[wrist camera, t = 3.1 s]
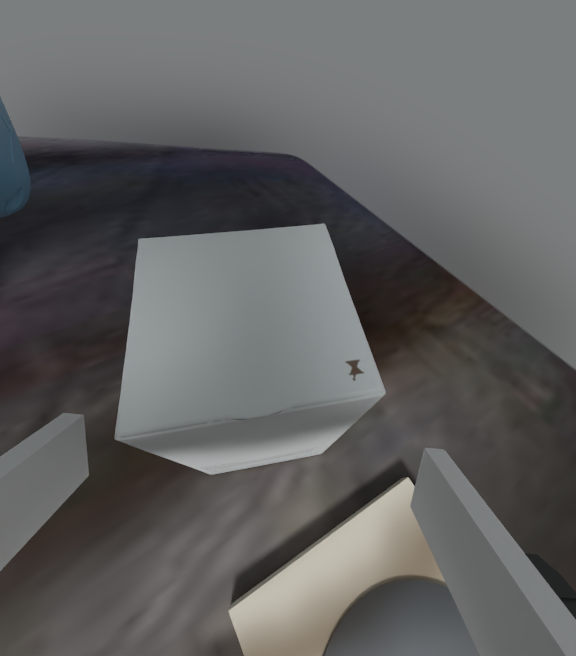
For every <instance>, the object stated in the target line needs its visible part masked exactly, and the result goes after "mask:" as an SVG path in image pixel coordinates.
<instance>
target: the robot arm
mask: <svg viewBox="0 0 576 656" xmlns="http://www.w3.org/2000/svg"><path fill="white" fill-rule="evenodd" d="M30 192H31V182H30V175H29V170H28V166H27V163H26V160H25V156H24V153H23V150H22V148H21V145H20V142H19V140H18V137H17V135H16V132H15V129H14V127H13V125H12V122H11V120H10V118H9V115H8V113H7V111H6V109H5V106H4V104H3V102H2V100H1V98H0V218H2V217H6V216H9V215H12V214H14V213H16V212H18V211H20V210H21V209H22V208H23V207H24V206H25V205H26V203H27V202H28V199H29V197H30ZM88 476H89V471H88V459H87V448H86V436H85V424H84V415H80V414H70V413H63V414H61V415H60V416H58V417H57V418H56V419H54V420H53V421H51V422H50V423H48V424H47V425H45V426H44V427H42V428H41V429H40V430H38V431H37V432H35V433H34V434H32V435H31V436H29V437H28V438H27V439H25V440H24V441H22V442H21V443H19V444H18V445H16V446H15V447H13V448H12V449H11V450H9V451H8V452H6V453H5V454H3V455H2V456H0V571H1V570H2V569H3V568H4V567H5V565H6V564H7V563H8V562H9V561H10V560H11V559H12V558H13V557H14V556H15V555H16V554H17V552H18V551H19V550H20V549H21V548H22V547H23V546H24V545H25V544H26V543H27V542H28V541H29V540H30V538H31V537H32V536H33V535H34V534H35V533H36V532H37V531H38V530H39V529H40V528H41V527H42V526H43V524H44V523H45V522H46V521H47V520H48V519H49V518H50V517H51V516H52V515H53V514H54V513H55V511H56V510H57V509H58V508H59V507H60V506H61V505H62V504H63V503H64V502H65V501H66V500H67V499H68V497H69V496H70V495H71V494H72V493H73V492H74V491H75V490H76V489H77V488H78V487H79V486H80V484H81V483H82V482H83V481H84V480H85V479H86V478H87V477H88ZM410 507H411V509H412V511H413V513H414V515H415V518H416V520H417V522H418V524H419V526H420V528H421V530H422V533H423V535H424V537H425V539H426V541H427V543H428V546H429V548H430V550H431V552H432V554H433V556H434V558H435V561H436V563H437V565H438V567H439V569H440V571H441V573H442V576H443V578H444V580H445V582H446V584H447V586H448V589H449V591H450V593H451V595H452V597H453V599H454V601H455V604H456V606H457V608H458V610H459V612H460V614H461V617H462V619H463V621H464V623H465V625H466V627H467V629H468V632H469V634H470V636H471V638H472V640H473V642H474V644H475V647H476V649H477V651H478V653H479V655H480V656H576V593H575V591H574V590H573V589H572V588H571V587H570V585H569V584H568V583H567V582H566V581H565V579H564V578H563V577H562V576H561V575H560V574H559V573H558V572H557V571H556V570H554V569H553V568H552V567H551V566H550V565H549V564H547V563H546V562H545V561H544V560H543V559H542V558H540V557H539V556H538V555H536V554H525V553H524V552H523V551H522V549H521V548H520V547H519V546H518V544H517V543H516V542H515V540H514V539H513V538H512V537H511V535H510V534H509V533H508V531H507V530H506V529H505V528H504V526H503V525H502V524H501V522H500V521H499V520H498V518H497V517H496V516H495V515H494V513H493V512H492V511H491V509H490V508H489V507H488V506H487V504H486V503H485V502H484V500H483V499H482V498H481V497H480V495H479V494H478V493H477V491H476V490H475V489H474V487H473V486H472V485H471V484H470V482H469V481H468V480H467V478H466V477H465V476H464V475H463V473H462V472H461V471H460V469H459V468H458V467H457V466H456V464H455V463H454V462H453V460H452V459H451V458H450V456H449V455H448V454H447V453H446V451H445V450H443V449H433V448H424V452H423V456H422V460H421V464H420V468H419V472H418V476H417V480H416V484H415V488H414V492H413V496H412V500H411V504H410Z"/></svg>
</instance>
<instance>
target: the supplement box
mask: <svg viewBox="0 0 576 656" xmlns="http://www.w3.org/2000/svg"><path fill="white" fill-rule="evenodd" d="M385 393H386V392H385V389H384V386H383V383H382V380H381V378H380V375H379V372H378V369H377V367H376V364H375V361H374V359H373V356H372V353H371V350H370V348H369V345H368V342H367V340H366V337H365V334H364V331H363V329H362V326H361V323H360V320H359V318H358V315H357V312H356V310H355V307H354V304H353V301H352V299H351V296H350V293H349V290H348V288H347V285H346V282H345V279H344V276H343V274H342V271H341V268H340V265H339V262H338V259H337V256H336V253H335V250H334V247H333V244H332V241H331V238H330V236H329V233H328V230H327V228H326V225H325V224H316V225H304V226H292V227H281V228H270V229H259V230H248V231H234V232H221V233H209V234H196V235H184V236H171V237H158V238H142V239H138V250H137V257H136V266H135V277H134V287H133V297H132V305H131V314H130V323H129V331H128V338H127V347H126V354H125V361H124V369H123V377H122V386H121V394H120V401H119V408H118V416H117V423H116V430H115V440H118V441H121V442H123V443H126V444H128V445H131V446H134V447H136V448H139V449H142V450H144V451H147V452H150V453H153V454H156V455H158V456H161V457H164V458H167V459H170V460H172V461H175V462H178V463H181V464H183V465H186V466H189V467H191V468H194V469H197V470H200V471H202V472H205V473H208V474H218V473H223V472H229V471H234V470H239V469H245V468H250V467H256V466H261V465H266V464H271V463H277V462H282V461H287V460H293V459H298V458H303V457H308V456H314V455H318V454H322V453H323V452H324V451H325V450H326V449H327V448H328V447H329V446H330V445H331V444H333V443H334V442H335V441H336V440H337V439H338V438H339V437H340V436H341V435H342V434H343V433H344V432H345V431H346V430H348V429H349V428H350V427H351V426H352V425H353V424H354V423H355V422H356V421H357V420H358V419H359V418H360V417H361V416H362V415H363V414H365V413H366V412H367V411H368V410H369V409H370V408H371V407H372V406H373V405H374V404H375V403H376V402H377V401H378V400H379V399H380V398H382V397H383V396H384V395H385Z"/></svg>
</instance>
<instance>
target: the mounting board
mask: <svg viewBox="0 0 576 656" xmlns="http://www.w3.org/2000/svg"><path fill="white" fill-rule="evenodd" d="M414 488H415V486H414V485H413V483H412V482H411V480H410V479H409V477H405V478H401V479H400V480H398V481H397V482H396V483H394V484H393V485H392V486H390V487H389V488H388V489H386V490H385V491H384V492H382V493H381V494H379V495H378V496H377V497H375V498H374V499H373V500H371V501H370V502H369V503H367V504H366V505H365V506H363V507H362V508H360V509H359V510H358V511H356V512H355V513H354V514H352V515H351V516H350V517H348V518H347V519H346V520H344V521H343V522H342V523H340V524H339V525H337V526H336V527H335V528H333V529H332V530H331V531H329V532H328V533H327V534H325V535H324V536H323V537H321V538H320V539H318V540H317V541H316V542H314V543H313V544H312V545H310V546H309V547H308V548H306V549H305V550H304V551H302V552H301V553H300V554H298V555H297V556H295V557H294V558H293V559H291V560H290V561H289V562H287V563H286V564H285V565H283V566H282V567H281V568H279V569H278V570H276V571H275V572H274V573H272V574H271V575H270V576H268V577H267V578H266V579H264V580H263V581H262V582H260V583H259V584H257V585H256V586H255V587H253V588H252V589H251V590H249V591H248V592H247V593H245V594H244V595H243V596H241V597H240V598H239V599H237V600H236V601H234V602H233V603H232V604H231V605H230V608H229V614H230V617H231V620H232V622H233V625H234V628H235V631H236V634H237V637H238V640H239V642H240V645H241V648H242V651H243V654H244V656H480V655H479V653H478V651H477V649H476V647H475V644H474V642H473V640H472V638H471V636H470V634H469V632H468V629H467V627H466V625H465V623H464V621H463V619H462V617H461V614H460V612H459V610H458V608H457V606H456V604H455V601H454V599H453V597H452V595H451V593H450V591H449V589H448V586H447V584H446V582H445V580H444V578H443V576H442V573H441V571H440V569H439V567H438V565H437V563H436V561H435V558H434V556H433V554H432V552H431V550H430V548H429V546H428V543H427V541H426V539H425V537H424V535H423V533H422V530H421V528H420V526H419V524H418V522H417V520H416V518H415V515H414V513H413V511H412V509H411V507H410V504H411V500H412V496H413V492H414Z"/></svg>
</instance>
